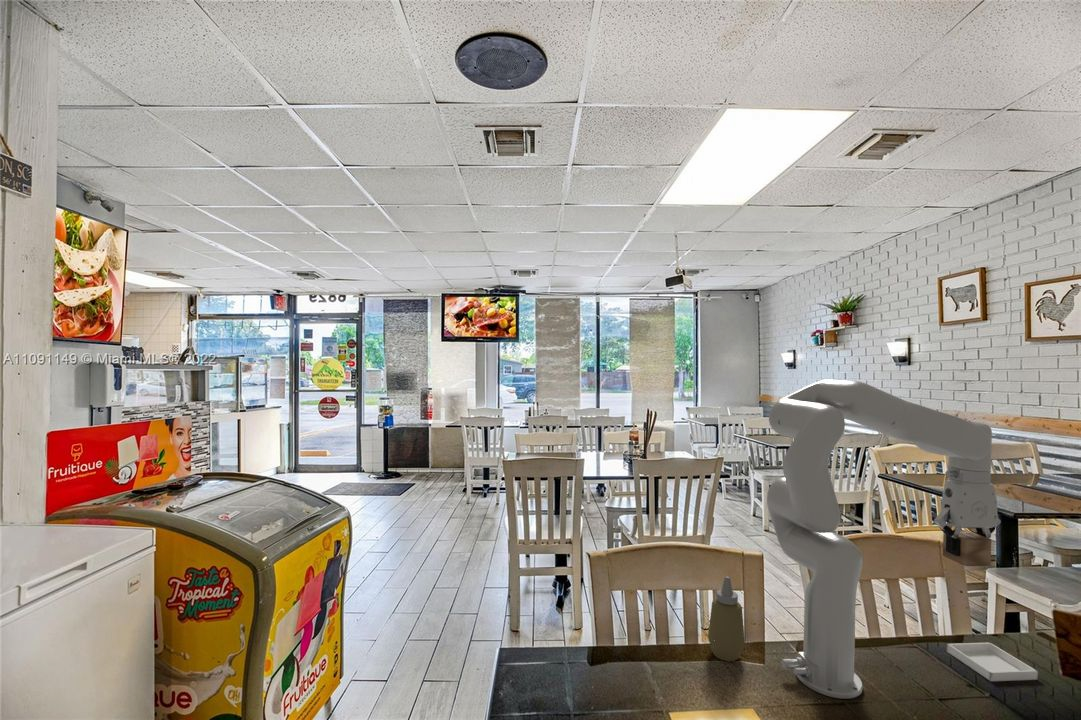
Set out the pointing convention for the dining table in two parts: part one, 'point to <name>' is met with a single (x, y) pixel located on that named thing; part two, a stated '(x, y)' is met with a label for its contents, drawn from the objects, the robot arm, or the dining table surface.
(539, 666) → the dining table surface
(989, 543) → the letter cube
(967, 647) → the tray
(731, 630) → the squeeze bottle
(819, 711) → the dining table surface
